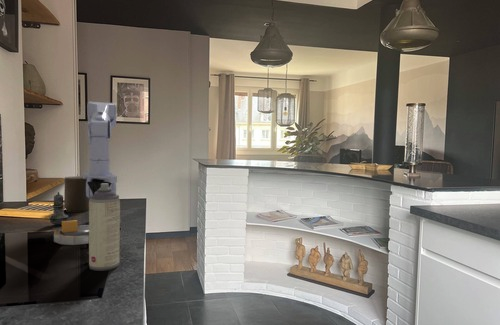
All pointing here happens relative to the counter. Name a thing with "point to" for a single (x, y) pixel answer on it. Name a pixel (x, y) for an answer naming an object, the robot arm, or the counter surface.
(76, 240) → the dial plate
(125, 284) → the counter surface
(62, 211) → the grey chess piece
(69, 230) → the dial
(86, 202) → the pillar candle
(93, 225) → the aerosol can
